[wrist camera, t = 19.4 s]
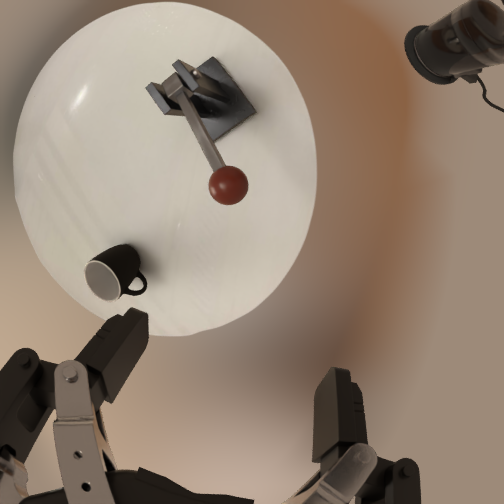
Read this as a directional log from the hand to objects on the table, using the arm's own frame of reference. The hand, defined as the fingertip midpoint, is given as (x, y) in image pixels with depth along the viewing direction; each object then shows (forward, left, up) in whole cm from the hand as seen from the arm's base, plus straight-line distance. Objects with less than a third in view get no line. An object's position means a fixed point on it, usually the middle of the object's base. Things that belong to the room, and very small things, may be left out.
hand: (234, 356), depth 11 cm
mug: (+25, +23, -36) cm, 50 cm away
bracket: (+14, -11, -36) cm, 40 cm away
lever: (+9, -6, -21) cm, 23 cm away
